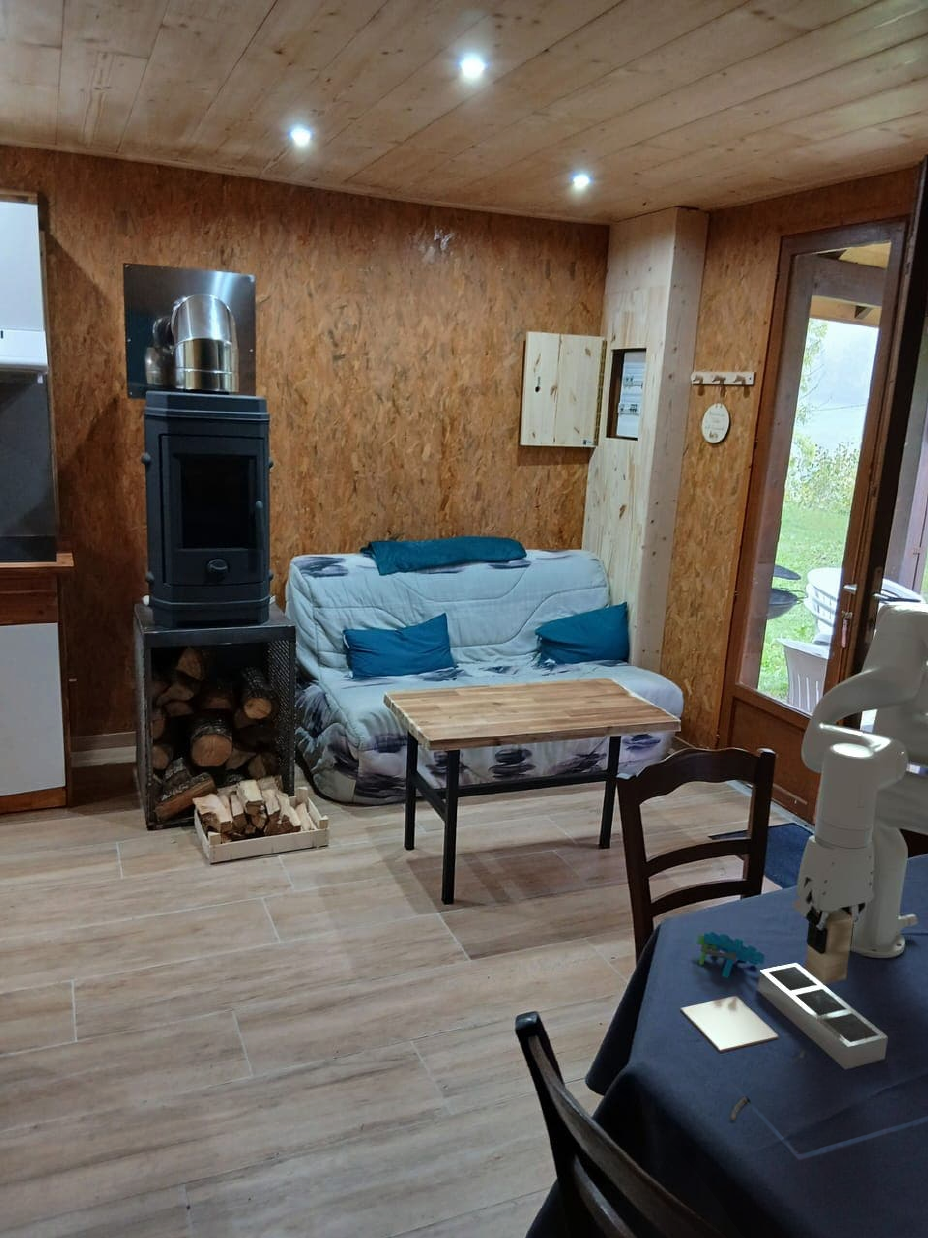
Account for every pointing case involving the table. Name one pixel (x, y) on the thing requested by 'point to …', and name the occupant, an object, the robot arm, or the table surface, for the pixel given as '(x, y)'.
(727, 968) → the gear
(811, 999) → the shelf
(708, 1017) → the tile
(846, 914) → the peg
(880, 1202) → the table surface
